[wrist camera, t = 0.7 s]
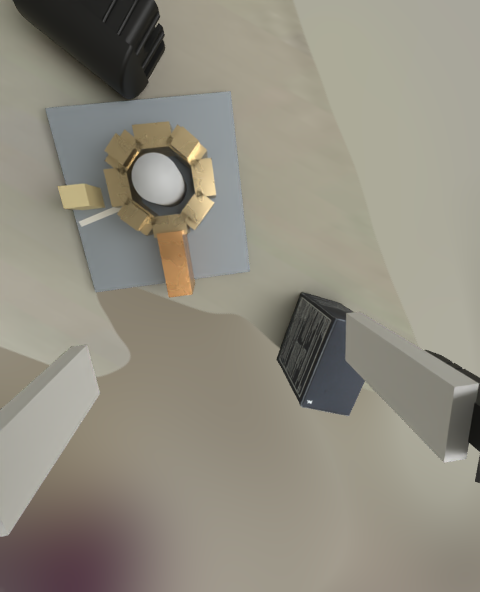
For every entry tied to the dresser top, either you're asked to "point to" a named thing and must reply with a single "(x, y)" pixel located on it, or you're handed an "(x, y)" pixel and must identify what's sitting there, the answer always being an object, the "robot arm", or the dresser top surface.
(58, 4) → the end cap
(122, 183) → the gold ring with handle
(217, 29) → the dresser top surface
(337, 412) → the small box
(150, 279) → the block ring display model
